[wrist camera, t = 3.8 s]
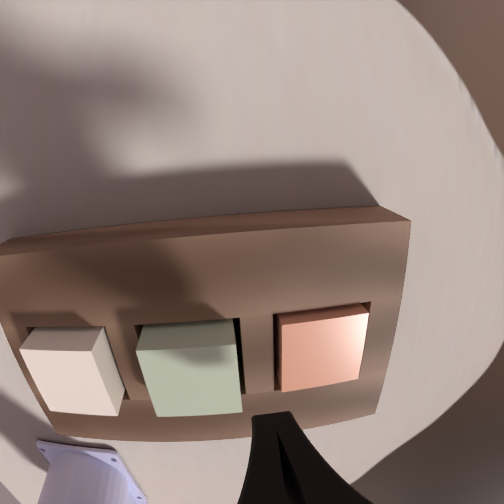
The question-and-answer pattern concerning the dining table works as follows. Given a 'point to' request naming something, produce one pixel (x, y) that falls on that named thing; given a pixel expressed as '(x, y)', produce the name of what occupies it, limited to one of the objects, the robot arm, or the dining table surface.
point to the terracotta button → (319, 346)
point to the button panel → (212, 304)
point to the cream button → (74, 369)
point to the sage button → (191, 367)
